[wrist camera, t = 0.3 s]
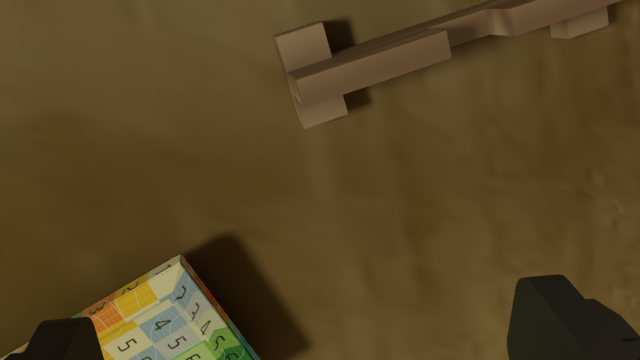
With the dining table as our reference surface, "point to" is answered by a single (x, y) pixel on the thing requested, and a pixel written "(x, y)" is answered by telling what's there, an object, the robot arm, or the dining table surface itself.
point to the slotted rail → (414, 48)
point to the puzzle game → (165, 320)
